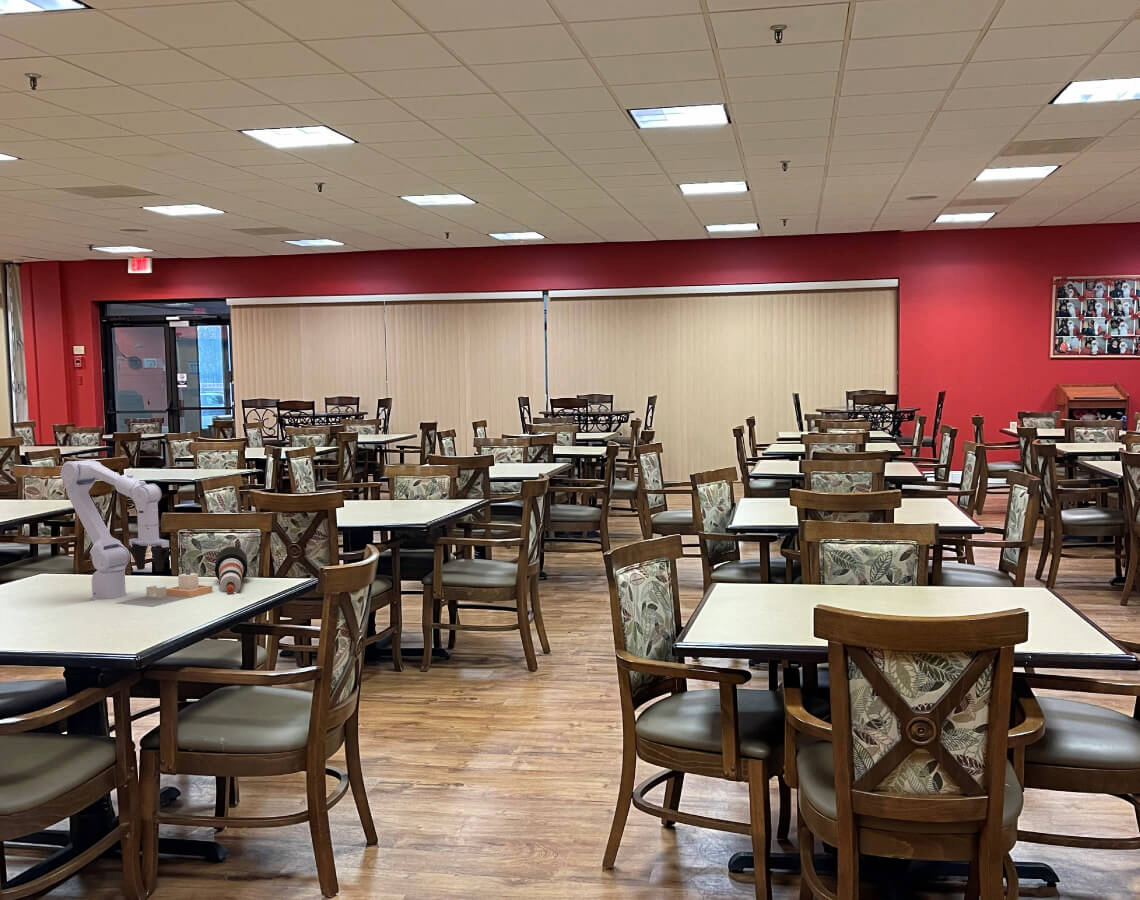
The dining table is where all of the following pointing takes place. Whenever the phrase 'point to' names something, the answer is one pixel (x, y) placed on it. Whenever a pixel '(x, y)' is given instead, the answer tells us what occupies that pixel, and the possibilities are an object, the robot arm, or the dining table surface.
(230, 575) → the cable
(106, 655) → the dining table surface
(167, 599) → the board
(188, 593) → the frame
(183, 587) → the connector
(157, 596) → the clip
